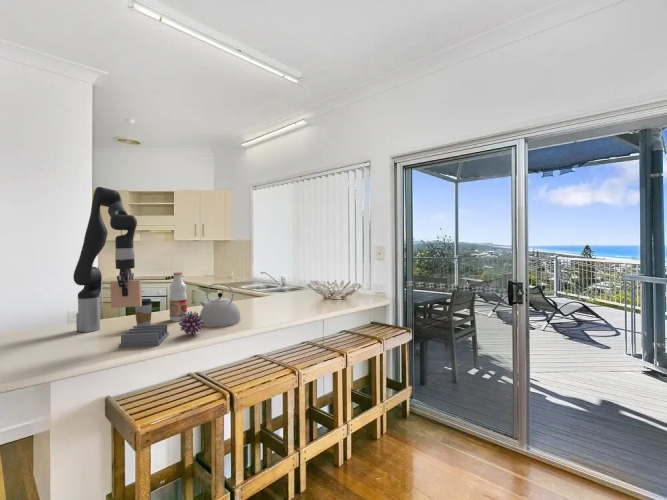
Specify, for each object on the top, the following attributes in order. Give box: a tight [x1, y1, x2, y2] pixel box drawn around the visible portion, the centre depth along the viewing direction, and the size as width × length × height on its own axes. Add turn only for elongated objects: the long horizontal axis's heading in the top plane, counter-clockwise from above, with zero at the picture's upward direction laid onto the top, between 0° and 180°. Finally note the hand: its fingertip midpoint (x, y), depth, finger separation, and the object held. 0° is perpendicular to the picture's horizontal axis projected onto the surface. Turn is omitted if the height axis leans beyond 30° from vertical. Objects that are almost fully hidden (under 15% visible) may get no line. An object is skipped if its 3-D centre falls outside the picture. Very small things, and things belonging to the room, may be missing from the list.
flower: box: [178, 310, 204, 336], centre depth 170 cm, size 12×12×12 cm
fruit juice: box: [169, 271, 188, 322], centre depth 202 cm, size 9×9×28 cm
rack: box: [118, 324, 170, 349], centre depth 159 cm, size 16×17×6 cm
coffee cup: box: [134, 298, 153, 326], centre depth 183 cm, size 8×8×15 cm
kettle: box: [199, 282, 242, 328], centre depth 196 cm, size 25×23×22 cm
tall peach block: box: [109, 279, 143, 309], centre depth 156 cm, size 12×2×12 cm, turn 102°
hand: (126, 295), depth 156 cm, fingers closed on tall peach block, 2 cm apart
